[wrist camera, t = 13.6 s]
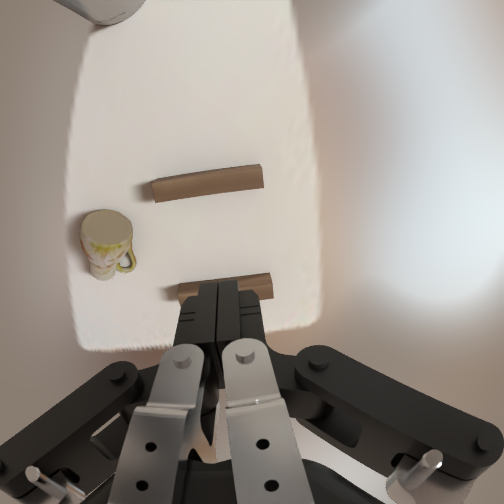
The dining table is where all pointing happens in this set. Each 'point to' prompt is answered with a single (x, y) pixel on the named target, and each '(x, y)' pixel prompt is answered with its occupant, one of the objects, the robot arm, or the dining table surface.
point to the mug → (107, 242)
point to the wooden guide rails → (209, 185)
